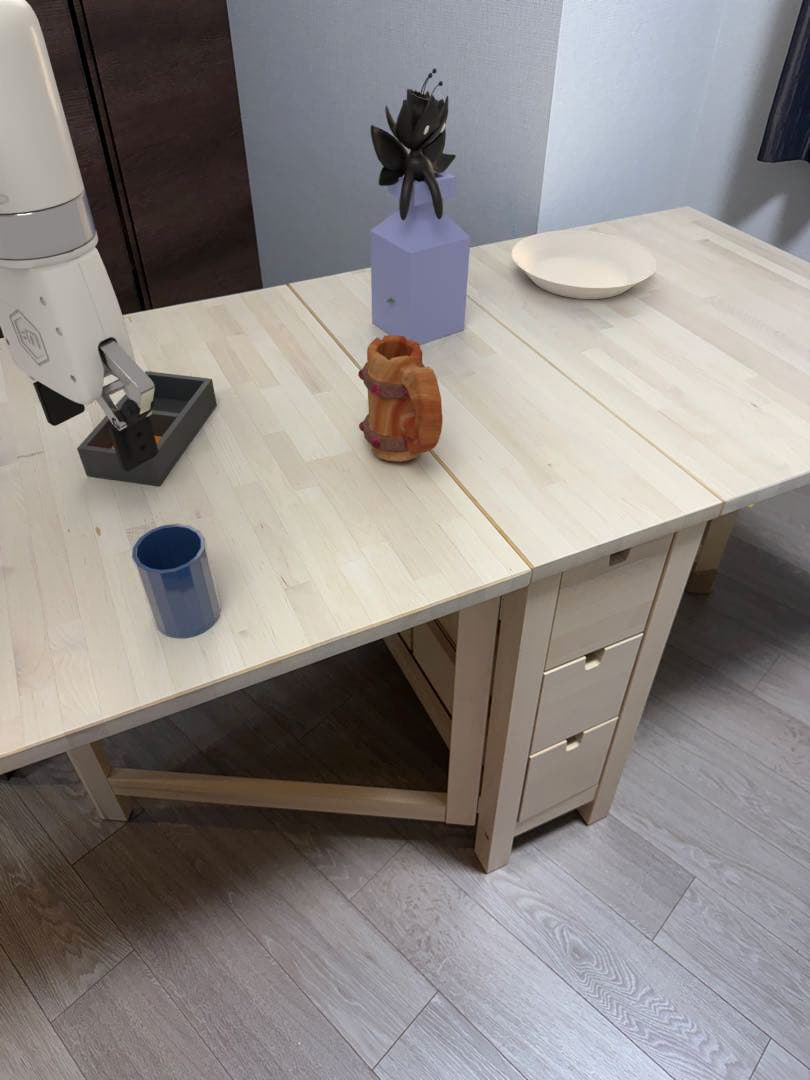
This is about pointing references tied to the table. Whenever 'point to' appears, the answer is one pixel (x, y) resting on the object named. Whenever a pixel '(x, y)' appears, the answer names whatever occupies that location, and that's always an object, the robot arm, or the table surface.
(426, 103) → the vase
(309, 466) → the table surface
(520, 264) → the bowl
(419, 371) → the mug
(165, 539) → the cup
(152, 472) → the holder
